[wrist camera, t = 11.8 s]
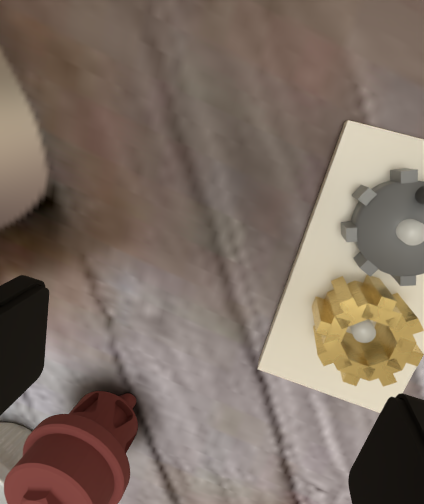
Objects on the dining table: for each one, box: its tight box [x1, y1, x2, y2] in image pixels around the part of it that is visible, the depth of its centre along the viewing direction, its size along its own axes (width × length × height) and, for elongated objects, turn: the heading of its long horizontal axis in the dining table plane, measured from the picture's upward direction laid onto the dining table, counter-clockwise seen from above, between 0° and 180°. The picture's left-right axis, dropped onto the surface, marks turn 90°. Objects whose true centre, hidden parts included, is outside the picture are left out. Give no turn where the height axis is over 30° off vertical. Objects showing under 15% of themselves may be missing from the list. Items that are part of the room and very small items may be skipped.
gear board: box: [258, 120, 424, 413], centre depth 25 cm, size 22×12×7 cm, turn 165°
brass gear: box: [312, 275, 424, 387], centre depth 26 cm, size 7×7×4 cm
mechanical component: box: [4, 391, 138, 504], centre depth 32 cm, size 12×10×10 cm
